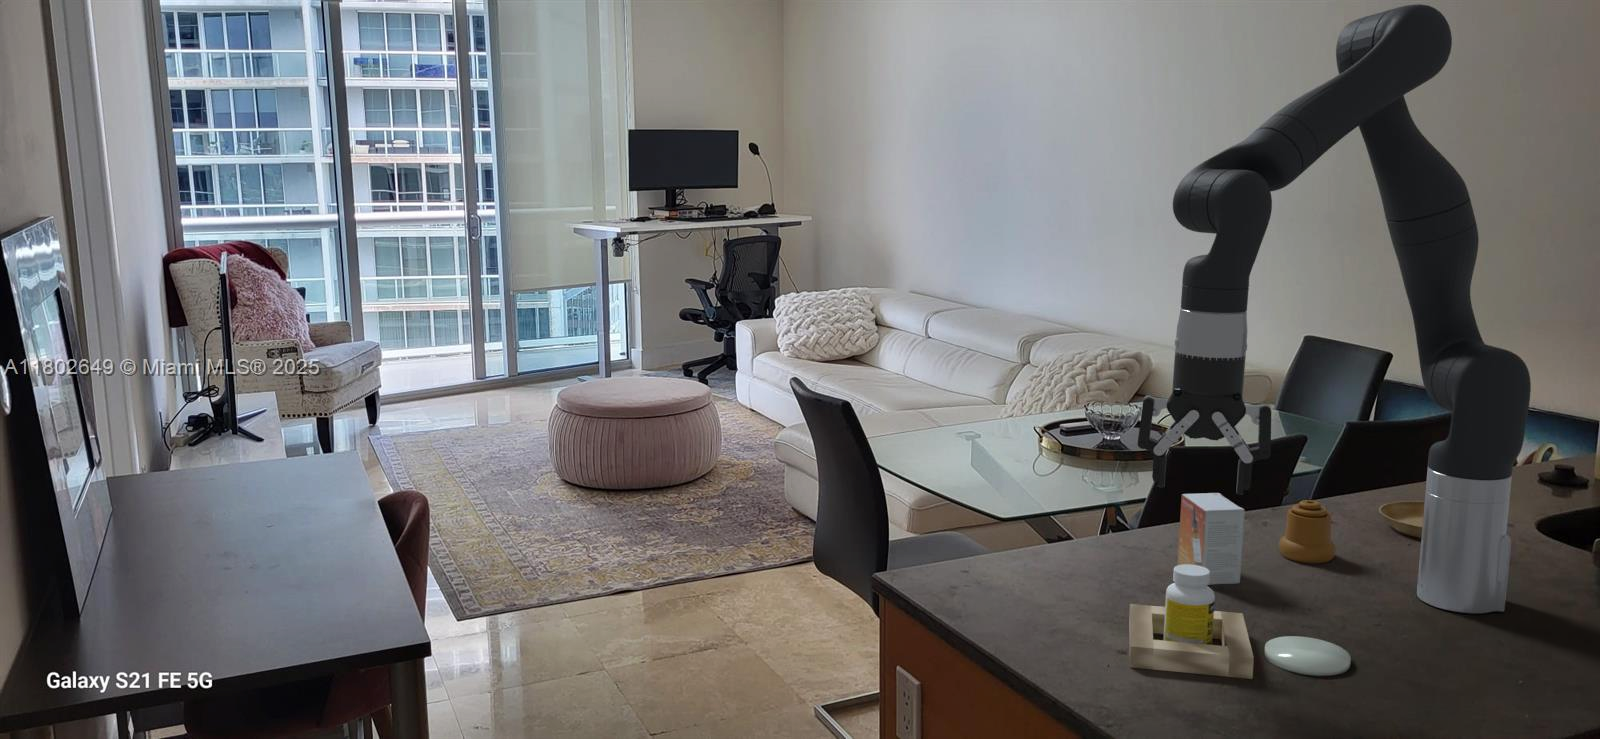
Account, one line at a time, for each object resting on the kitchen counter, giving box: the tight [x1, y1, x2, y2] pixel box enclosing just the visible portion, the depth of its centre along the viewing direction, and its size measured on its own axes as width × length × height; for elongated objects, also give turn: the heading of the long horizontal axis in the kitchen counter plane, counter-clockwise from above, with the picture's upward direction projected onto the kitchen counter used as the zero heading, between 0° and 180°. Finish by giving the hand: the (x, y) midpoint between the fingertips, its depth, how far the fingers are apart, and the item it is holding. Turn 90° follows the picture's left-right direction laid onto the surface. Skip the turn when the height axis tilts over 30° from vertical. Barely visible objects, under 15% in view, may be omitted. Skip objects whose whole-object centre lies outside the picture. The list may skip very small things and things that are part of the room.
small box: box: [1177, 492, 1246, 586], centre depth 160 cm, size 8×6×10 cm
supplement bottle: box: [1162, 564, 1216, 645], centre depth 136 cm, size 5×5×10 cm
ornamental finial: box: [1278, 499, 1337, 565], centre depth 167 cm, size 8×8×8 cm
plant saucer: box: [1378, 500, 1425, 539], centre depth 179 cm, size 15×15×3 cm
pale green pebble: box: [1264, 635, 1352, 677], centre depth 134 cm, size 9×9×1 cm
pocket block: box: [1128, 603, 1255, 680], centre depth 137 cm, size 13×13×2 cm
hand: (1199, 489), depth 135 cm, fingers open, 8 cm apart
